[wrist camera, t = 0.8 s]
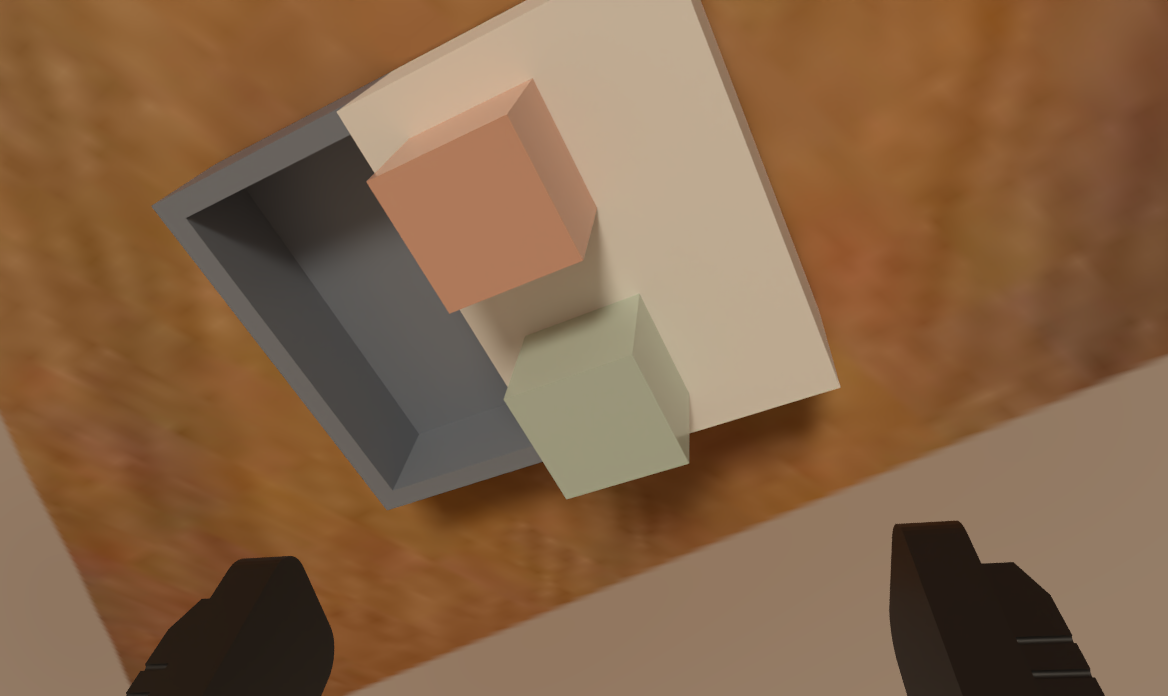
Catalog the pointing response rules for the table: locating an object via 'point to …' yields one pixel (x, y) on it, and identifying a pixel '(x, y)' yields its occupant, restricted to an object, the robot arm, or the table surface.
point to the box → (348, 311)
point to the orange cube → (488, 198)
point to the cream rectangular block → (635, 192)
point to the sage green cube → (601, 399)
